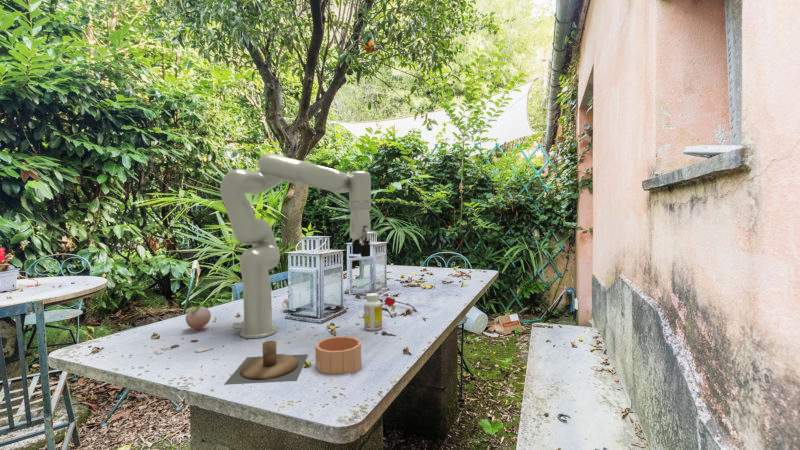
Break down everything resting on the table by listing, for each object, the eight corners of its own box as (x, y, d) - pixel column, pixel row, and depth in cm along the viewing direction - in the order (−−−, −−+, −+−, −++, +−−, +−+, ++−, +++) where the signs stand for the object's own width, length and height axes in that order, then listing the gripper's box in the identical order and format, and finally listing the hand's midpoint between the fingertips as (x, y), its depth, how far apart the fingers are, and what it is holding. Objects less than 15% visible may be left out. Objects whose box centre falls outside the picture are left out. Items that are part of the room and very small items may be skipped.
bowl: (313, 377, 98) (312, 352, 98) (319, 359, 110) (319, 337, 110) (360, 374, 99) (360, 350, 99) (361, 357, 111) (361, 335, 111)
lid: (232, 381, 95) (231, 354, 95) (250, 358, 110) (250, 335, 110) (291, 378, 96) (291, 351, 96) (302, 356, 111) (301, 333, 111)
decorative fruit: (209, 332, 138) (208, 305, 138) (184, 335, 135) (183, 308, 135) (212, 325, 147) (211, 300, 147) (188, 328, 144) (187, 302, 144)
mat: (223, 386, 93) (223, 384, 93) (247, 359, 111) (247, 357, 111) (296, 382, 95) (296, 380, 95) (308, 356, 113) (308, 354, 113)
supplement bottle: (383, 325, 142) (382, 292, 142) (380, 331, 136) (380, 296, 135) (366, 325, 143) (365, 292, 143) (362, 331, 136) (362, 296, 136)
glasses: (393, 305, 175) (393, 295, 175) (417, 312, 162) (417, 301, 162) (369, 311, 166) (369, 300, 166) (392, 318, 153) (392, 306, 153)
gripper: (343, 207, 137) (343, 253, 137) (357, 206, 121) (358, 258, 121) (362, 207, 140) (363, 252, 140) (379, 206, 124) (379, 257, 125)
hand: (361, 255), depth 131 cm, fingers open, 9 cm apart
